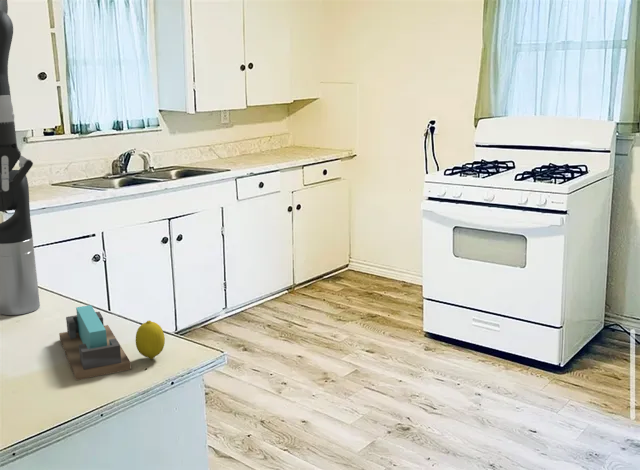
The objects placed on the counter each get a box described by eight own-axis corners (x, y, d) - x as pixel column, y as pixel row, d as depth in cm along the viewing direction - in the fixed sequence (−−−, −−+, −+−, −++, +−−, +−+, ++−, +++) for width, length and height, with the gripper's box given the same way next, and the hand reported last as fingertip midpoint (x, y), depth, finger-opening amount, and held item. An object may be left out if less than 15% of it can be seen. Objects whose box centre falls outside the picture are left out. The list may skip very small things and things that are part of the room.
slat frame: (59, 339, 144) (57, 317, 143) (108, 331, 149) (106, 309, 148) (75, 380, 125) (73, 354, 124) (131, 369, 130) (129, 344, 129)
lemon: (151, 367, 131) (148, 327, 129) (130, 360, 134) (128, 322, 132) (171, 357, 135) (169, 319, 134) (151, 351, 138) (149, 313, 136)
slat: (78, 334, 143) (76, 307, 142) (93, 331, 145) (91, 305, 143) (92, 362, 130) (89, 332, 128) (108, 359, 131) (105, 329, 129)
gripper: (28, 117, 135) (37, 203, 139) (-47, 120, 129) (-36, 209, 133) (32, 119, 129) (41, 209, 133) (-47, 122, 123) (-35, 216, 127)
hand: (3, 209), depth 133 cm, fingers closed
